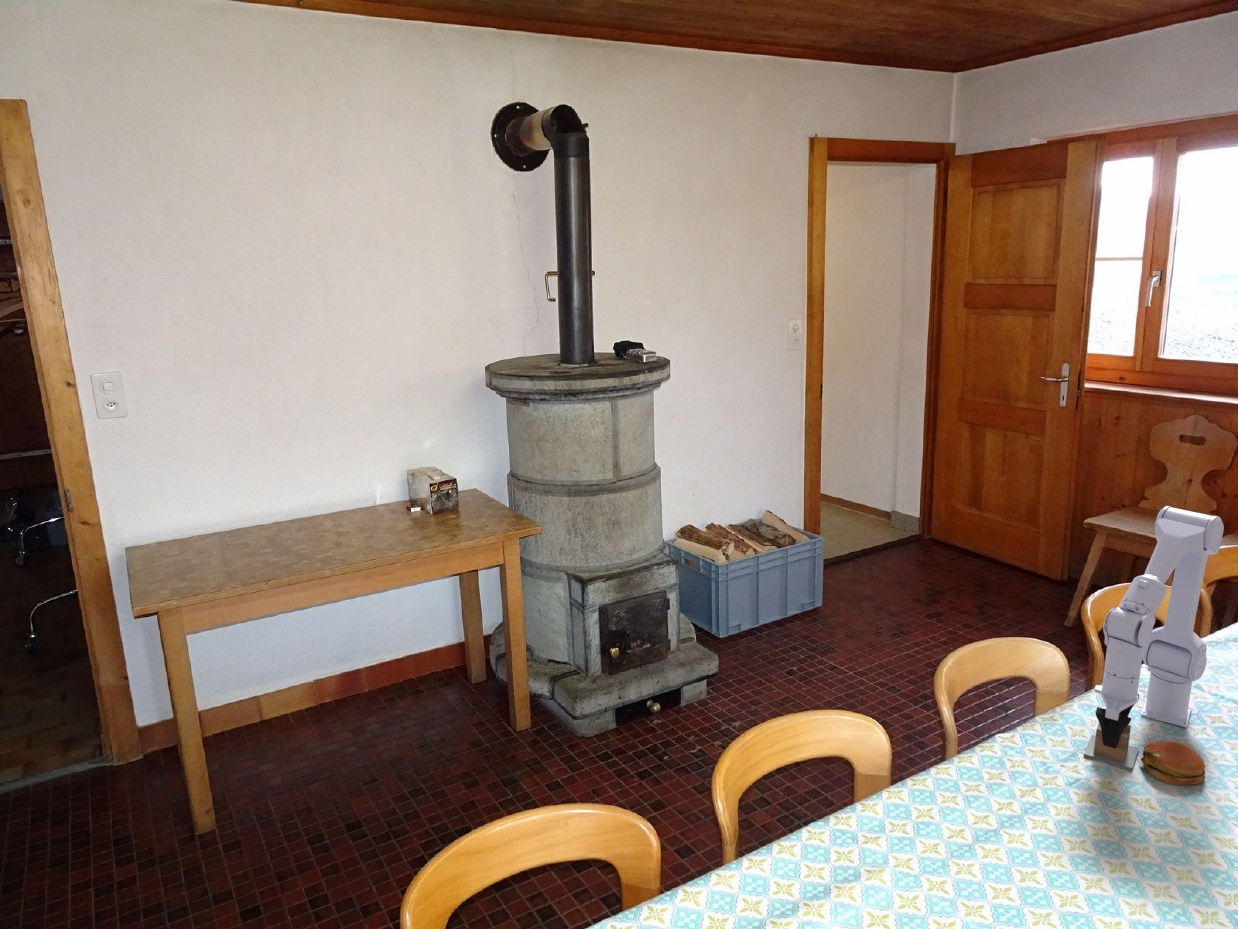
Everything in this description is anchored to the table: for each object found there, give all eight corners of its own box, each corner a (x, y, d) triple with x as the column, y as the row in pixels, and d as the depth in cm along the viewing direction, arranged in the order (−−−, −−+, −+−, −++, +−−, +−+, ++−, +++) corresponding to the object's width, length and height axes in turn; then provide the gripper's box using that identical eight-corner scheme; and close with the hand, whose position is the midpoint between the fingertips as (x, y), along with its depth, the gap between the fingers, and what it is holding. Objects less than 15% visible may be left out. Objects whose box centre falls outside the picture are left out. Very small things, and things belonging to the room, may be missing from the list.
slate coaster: (1091, 737, 170) (1091, 734, 170) (1138, 750, 165) (1138, 748, 165) (1083, 756, 164) (1083, 753, 164) (1131, 771, 159) (1132, 768, 159)
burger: (1214, 778, 157) (1218, 755, 156) (1184, 794, 153) (1188, 771, 152) (1159, 751, 165) (1162, 729, 164) (1129, 766, 161) (1132, 744, 160)
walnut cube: (1098, 740, 168) (1101, 717, 167) (1127, 749, 165) (1131, 725, 164) (1093, 752, 164) (1096, 729, 163) (1123, 761, 161) (1126, 737, 160)
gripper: (1104, 651, 168) (1096, 713, 172) (1090, 681, 157) (1082, 747, 161) (1146, 660, 164) (1137, 724, 168) (1134, 692, 153) (1125, 760, 156)
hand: (1113, 736), depth 164 cm, fingers open, 7 cm apart
